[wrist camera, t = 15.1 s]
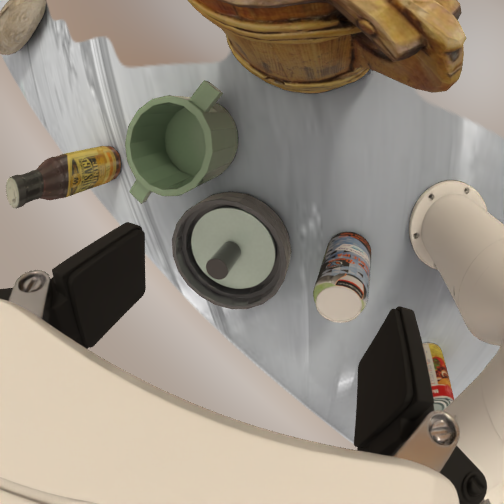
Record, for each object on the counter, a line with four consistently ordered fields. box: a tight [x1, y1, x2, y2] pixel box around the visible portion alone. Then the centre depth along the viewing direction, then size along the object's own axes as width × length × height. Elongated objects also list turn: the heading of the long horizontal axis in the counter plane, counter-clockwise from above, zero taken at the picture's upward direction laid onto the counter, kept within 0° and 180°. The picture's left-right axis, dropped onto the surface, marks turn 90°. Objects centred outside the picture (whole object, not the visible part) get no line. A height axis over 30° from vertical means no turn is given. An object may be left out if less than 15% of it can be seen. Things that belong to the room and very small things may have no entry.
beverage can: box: [313, 232, 371, 322], centre depth 33 cm, size 6×7×12 cm
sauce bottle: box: [6, 146, 121, 208], centre depth 33 cm, size 6×6×20 cm
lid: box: [191, 207, 276, 289], centre depth 39 cm, size 13×13×7 cm
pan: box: [172, 192, 291, 309], centre depth 40 cm, size 16×16×4 cm
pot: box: [125, 80, 238, 204], centre depth 33 cm, size 12×17×8 cm
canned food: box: [422, 343, 454, 411], centre depth 36 cm, size 8×8×12 cm
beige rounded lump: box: [0, 0, 46, 55], centre depth 27 cm, size 18×18×10 cm
